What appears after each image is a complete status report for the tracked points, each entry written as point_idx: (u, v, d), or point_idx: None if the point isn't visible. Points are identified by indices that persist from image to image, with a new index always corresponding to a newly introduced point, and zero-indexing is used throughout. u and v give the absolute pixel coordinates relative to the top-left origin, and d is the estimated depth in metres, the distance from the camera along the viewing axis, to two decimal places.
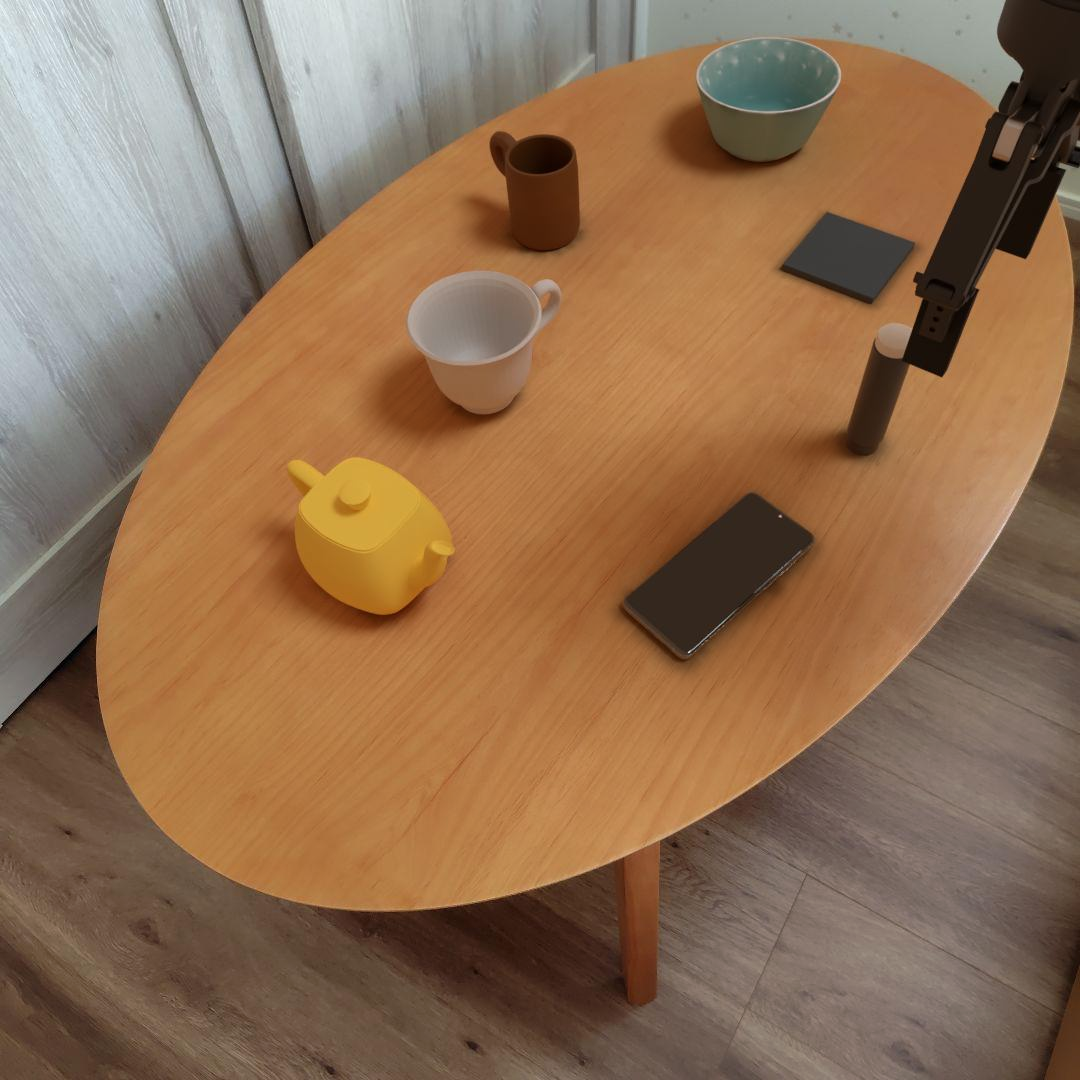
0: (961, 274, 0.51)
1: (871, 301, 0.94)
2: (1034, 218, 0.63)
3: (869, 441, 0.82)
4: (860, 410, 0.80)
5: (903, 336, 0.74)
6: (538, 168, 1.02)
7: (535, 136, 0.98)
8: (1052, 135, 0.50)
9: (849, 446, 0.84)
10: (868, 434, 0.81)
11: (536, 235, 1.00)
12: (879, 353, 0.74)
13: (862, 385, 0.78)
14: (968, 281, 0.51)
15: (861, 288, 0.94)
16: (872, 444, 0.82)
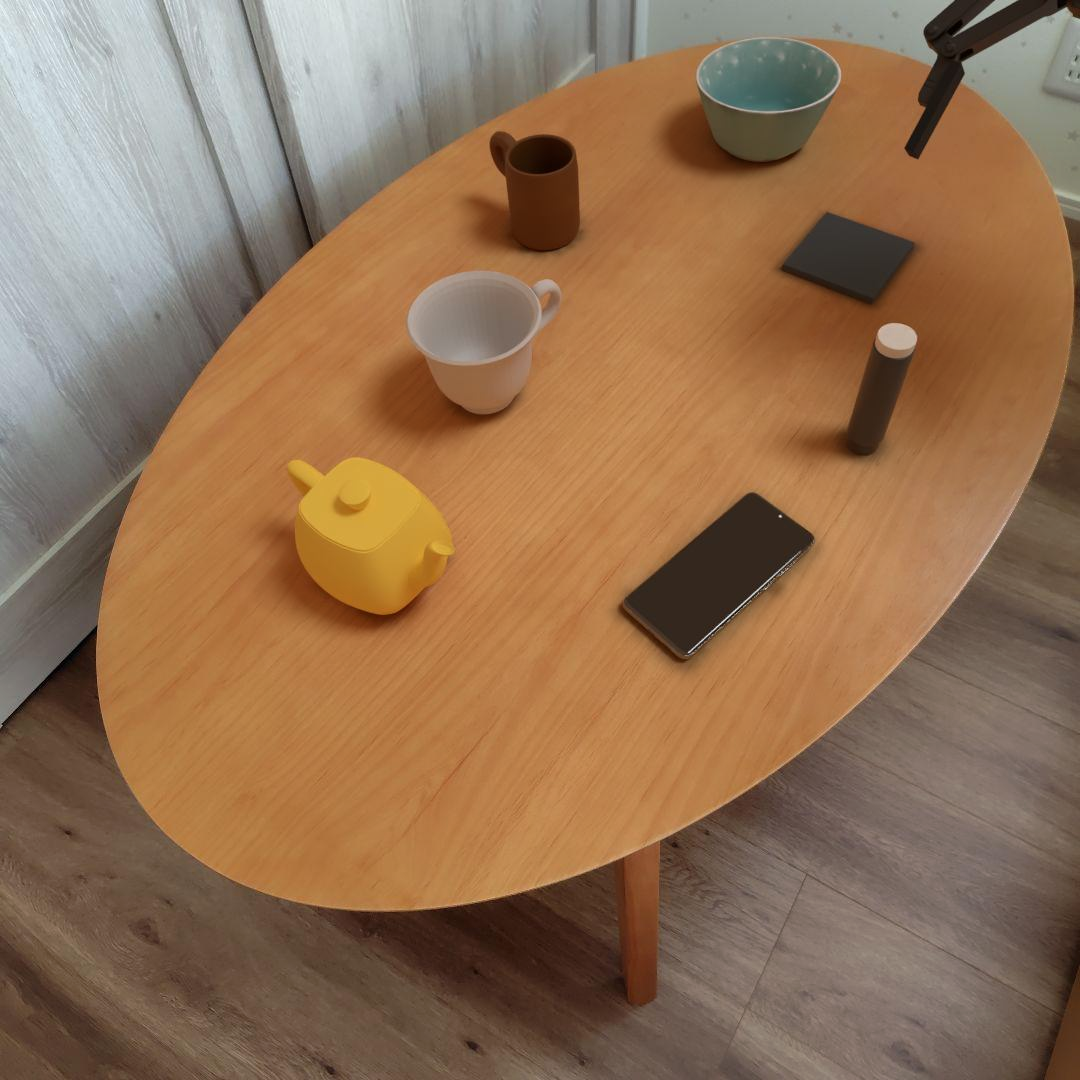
0: None
1: (871, 301, 0.94)
2: None
3: (869, 441, 0.82)
4: (860, 410, 0.80)
5: (903, 336, 0.74)
6: (538, 168, 1.02)
7: (535, 136, 0.98)
8: None
9: (849, 446, 0.84)
10: (868, 434, 0.81)
11: (536, 235, 1.00)
12: (879, 353, 0.74)
13: (862, 385, 0.78)
14: (942, 12, 0.68)
15: (861, 288, 0.94)
16: (872, 444, 0.82)
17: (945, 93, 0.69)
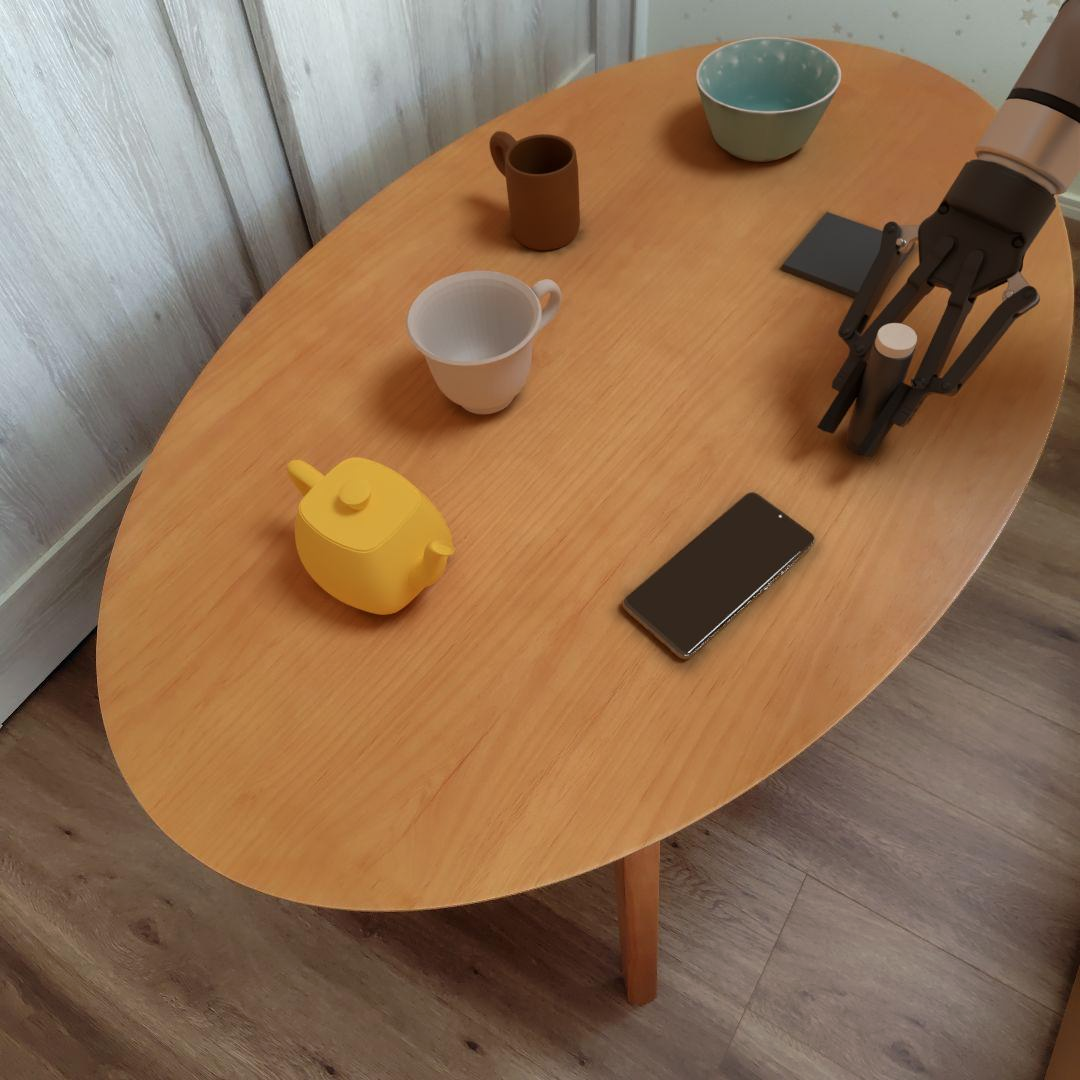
0: None
1: None
2: None
3: None
4: (860, 410, 0.80)
5: (903, 336, 0.74)
6: (538, 168, 1.02)
7: (535, 136, 0.98)
8: None
9: (849, 446, 0.84)
10: None
11: (536, 235, 1.00)
12: (879, 353, 0.74)
13: (862, 385, 0.78)
14: (846, 315, 0.78)
15: None
16: None
17: (853, 386, 0.78)
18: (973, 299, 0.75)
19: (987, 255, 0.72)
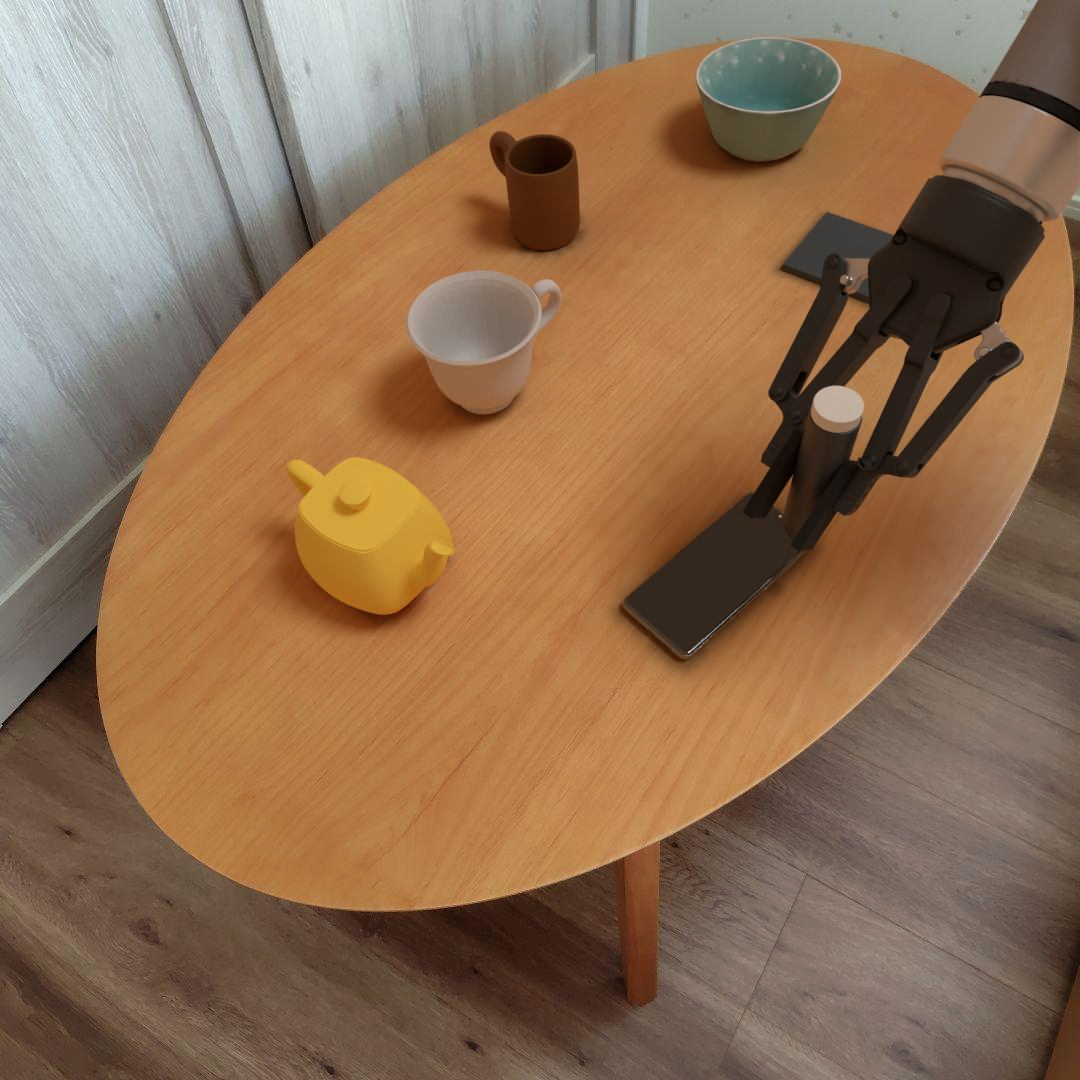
0: None
1: None
2: None
3: None
4: (796, 491, 0.63)
5: (846, 404, 0.57)
6: (538, 168, 1.02)
7: (535, 136, 0.98)
8: None
9: (787, 531, 0.67)
10: None
11: (536, 235, 1.00)
12: (816, 425, 0.57)
13: (798, 461, 0.61)
14: (778, 372, 0.61)
15: (861, 288, 0.94)
16: None
17: (787, 462, 0.61)
18: (938, 354, 0.58)
19: (955, 300, 0.56)
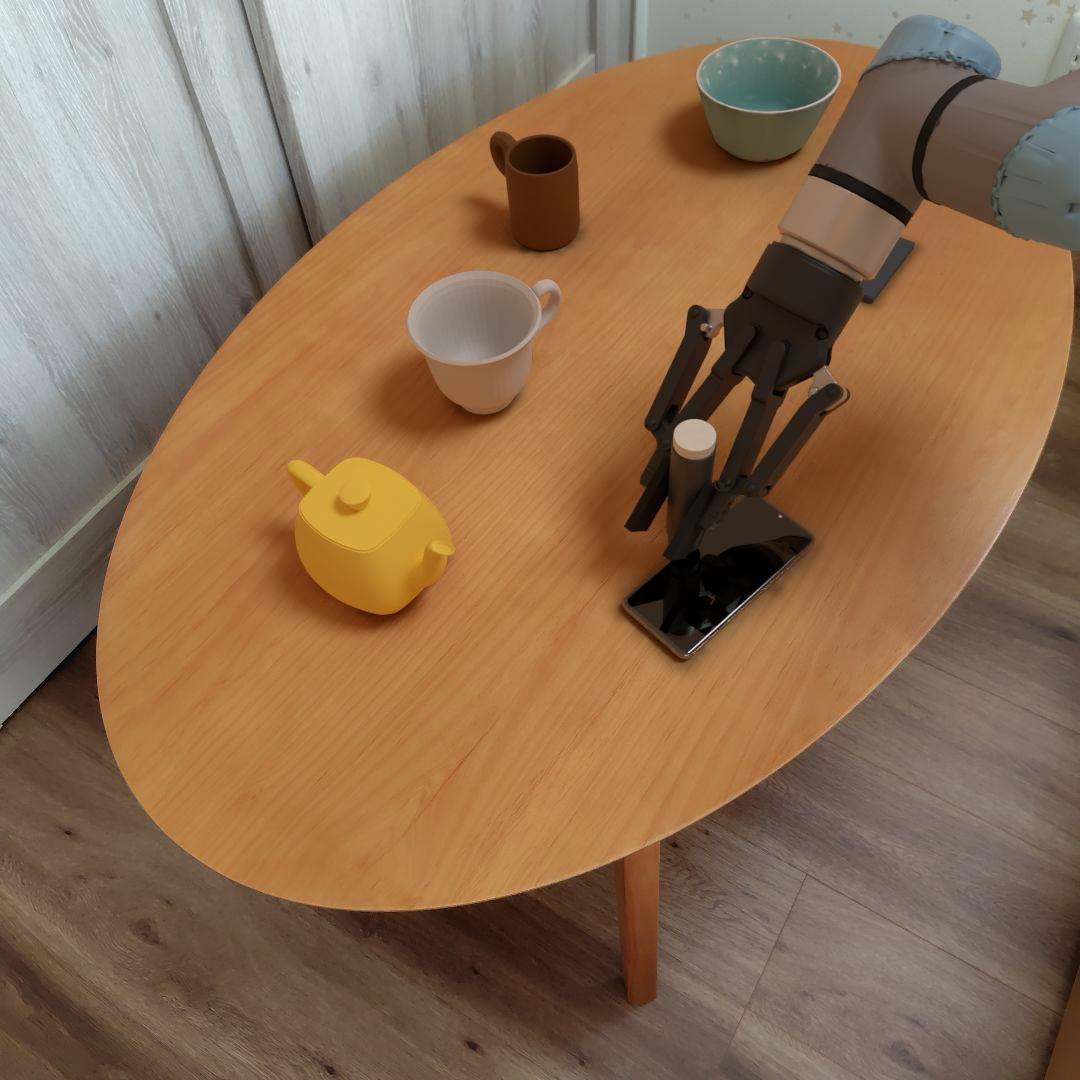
0: None
1: (871, 301, 0.94)
2: None
3: None
4: (670, 508, 0.72)
5: (701, 435, 0.66)
6: (538, 168, 1.02)
7: (535, 136, 0.98)
8: None
9: (669, 542, 0.77)
10: None
11: (536, 235, 1.00)
12: (676, 453, 0.67)
13: (669, 483, 0.71)
14: (652, 405, 0.71)
15: None
16: None
17: (660, 483, 0.71)
18: (783, 392, 0.68)
19: (791, 347, 0.65)
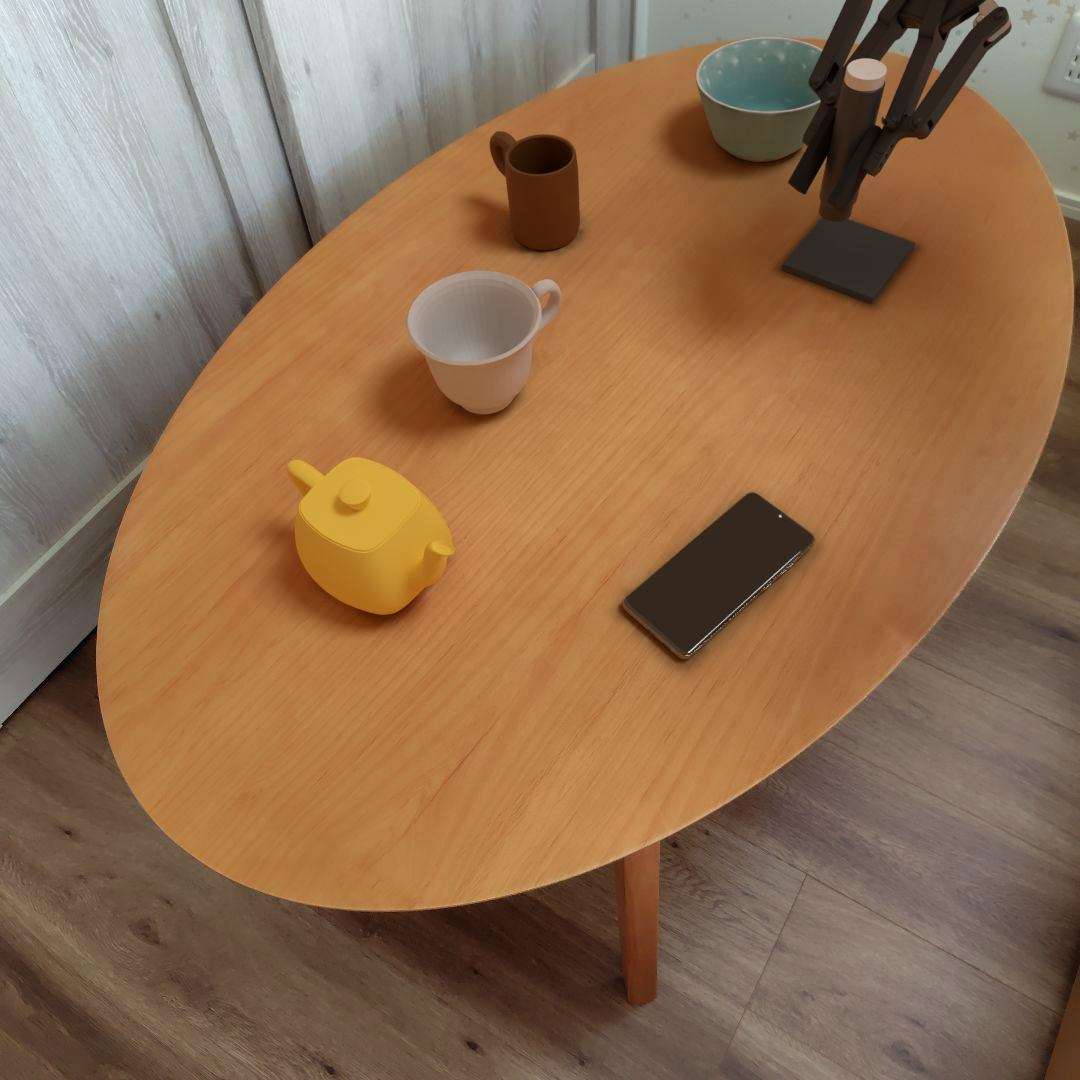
0: None
1: (871, 301, 0.94)
2: None
3: None
4: (831, 164, 0.78)
5: (873, 68, 0.72)
6: (538, 168, 1.02)
7: (535, 136, 0.98)
8: None
9: (821, 213, 0.82)
10: None
11: (536, 235, 1.00)
12: (849, 87, 0.73)
13: (833, 134, 0.77)
14: (816, 64, 0.77)
15: (861, 288, 0.94)
16: None
17: (824, 135, 0.77)
18: (944, 36, 0.74)
19: None
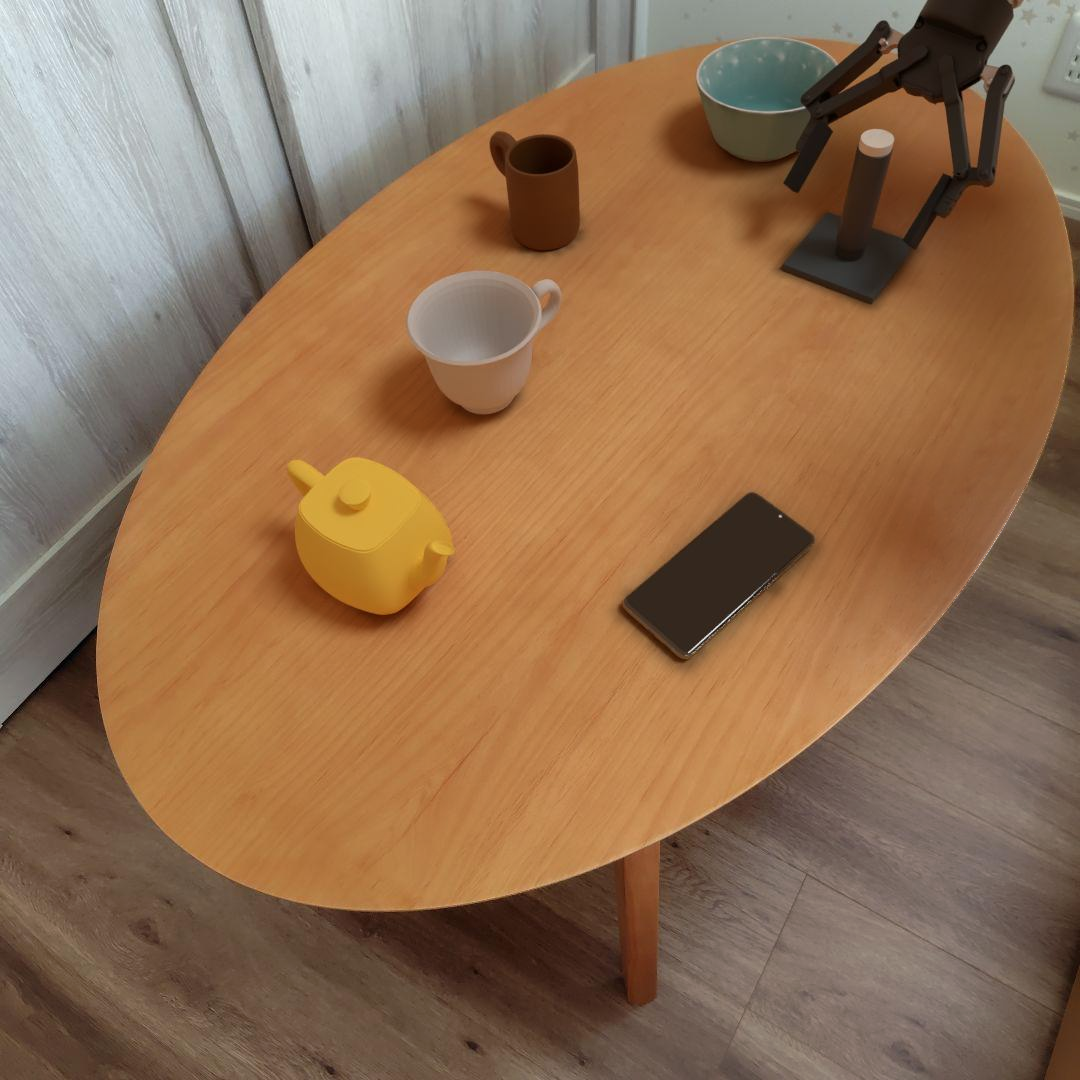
0: None
1: (871, 301, 0.94)
2: None
3: (855, 245, 0.95)
4: (846, 214, 0.93)
5: (882, 138, 0.87)
6: (538, 168, 1.02)
7: (535, 136, 0.98)
8: None
9: (838, 254, 0.97)
10: (854, 238, 0.94)
11: (536, 235, 1.00)
12: (862, 153, 0.87)
13: (848, 190, 0.91)
14: (814, 85, 0.92)
15: (861, 288, 0.94)
16: (857, 248, 0.95)
17: (813, 144, 0.92)
18: None
19: (955, 60, 0.85)
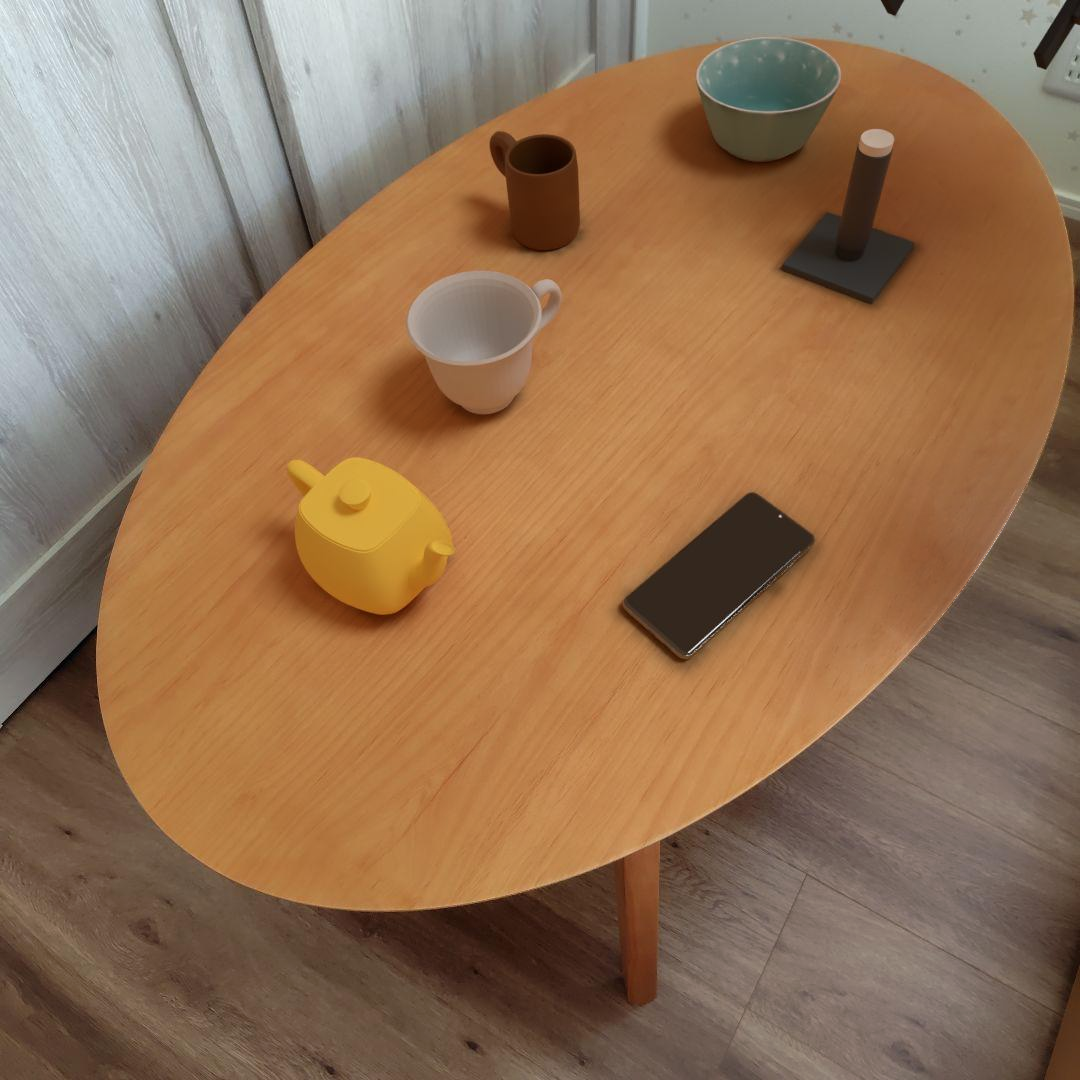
0: None
1: (871, 301, 0.94)
2: None
3: (855, 245, 0.95)
4: (846, 214, 0.93)
5: (882, 138, 0.87)
6: (538, 168, 1.02)
7: (535, 136, 0.98)
8: None
9: (838, 254, 0.97)
10: (854, 238, 0.94)
11: (536, 235, 1.00)
12: (862, 153, 0.87)
13: (848, 190, 0.91)
14: None
15: (861, 288, 0.94)
16: (857, 248, 0.95)
17: None
18: None
19: None
